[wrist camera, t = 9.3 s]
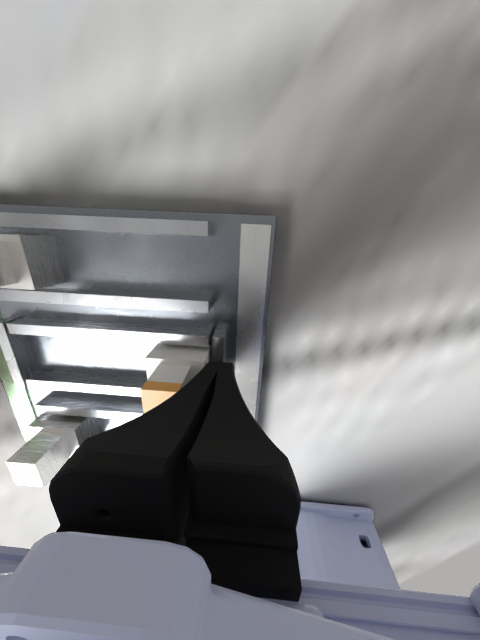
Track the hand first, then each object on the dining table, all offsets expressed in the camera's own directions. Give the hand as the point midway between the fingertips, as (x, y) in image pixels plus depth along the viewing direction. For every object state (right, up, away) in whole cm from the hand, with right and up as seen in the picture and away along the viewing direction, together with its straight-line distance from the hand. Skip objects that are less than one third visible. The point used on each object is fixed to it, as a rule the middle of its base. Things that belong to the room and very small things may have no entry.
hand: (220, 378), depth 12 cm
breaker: (-2, +1, +1) cm, 3 cm away
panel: (-6, +1, +3) cm, 7 cm away
